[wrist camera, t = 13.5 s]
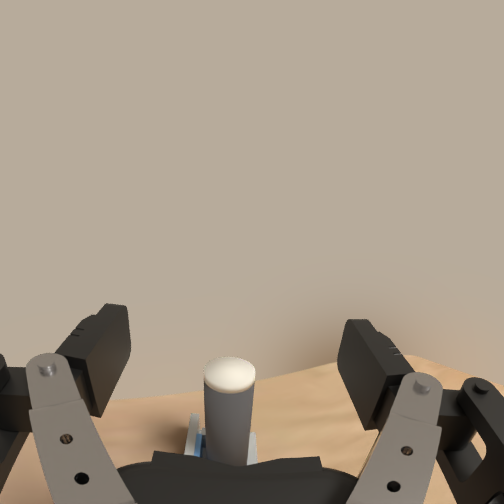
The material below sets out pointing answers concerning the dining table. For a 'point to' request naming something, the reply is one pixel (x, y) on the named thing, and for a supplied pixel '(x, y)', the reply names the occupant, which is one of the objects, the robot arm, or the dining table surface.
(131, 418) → the dining table surface
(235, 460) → the gray cylinder
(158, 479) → the robot arm
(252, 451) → the grey slotted rack
